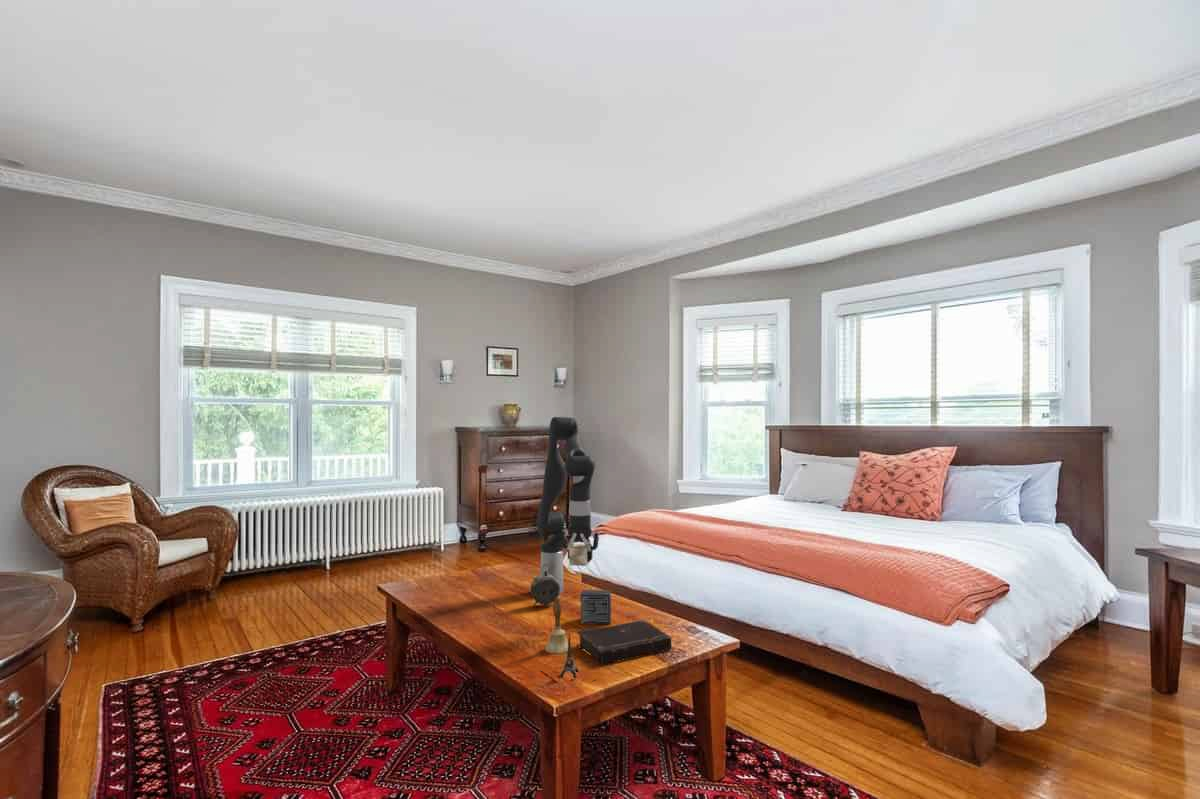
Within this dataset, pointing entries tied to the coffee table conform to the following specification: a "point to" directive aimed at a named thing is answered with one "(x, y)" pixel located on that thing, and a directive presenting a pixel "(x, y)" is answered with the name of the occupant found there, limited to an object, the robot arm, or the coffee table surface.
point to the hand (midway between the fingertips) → (580, 560)
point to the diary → (623, 641)
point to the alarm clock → (545, 588)
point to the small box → (596, 606)
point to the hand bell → (557, 633)
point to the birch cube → (578, 555)
